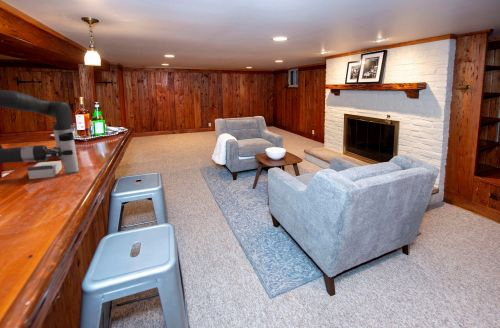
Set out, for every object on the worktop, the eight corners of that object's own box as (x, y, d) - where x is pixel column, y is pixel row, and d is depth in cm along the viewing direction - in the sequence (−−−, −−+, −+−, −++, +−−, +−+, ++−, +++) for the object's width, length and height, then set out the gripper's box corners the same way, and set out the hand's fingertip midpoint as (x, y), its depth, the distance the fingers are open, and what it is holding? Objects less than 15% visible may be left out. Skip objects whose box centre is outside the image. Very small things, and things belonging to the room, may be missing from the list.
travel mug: (82, 171, 152) (76, 132, 147) (71, 174, 146) (64, 134, 141) (73, 170, 154) (67, 131, 149) (61, 173, 148) (54, 134, 143)
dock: (40, 169, 155) (38, 159, 154) (62, 168, 158) (60, 158, 157) (29, 179, 140) (27, 167, 139) (53, 176, 143) (51, 165, 142)
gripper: (27, 149, 135) (69, 146, 140) (38, 143, 148) (76, 140, 154) (31, 164, 137) (72, 161, 142) (41, 157, 150) (78, 155, 156)
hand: (74, 150), depth 148 cm, fingers closed on travel mug, 6 cm apart
